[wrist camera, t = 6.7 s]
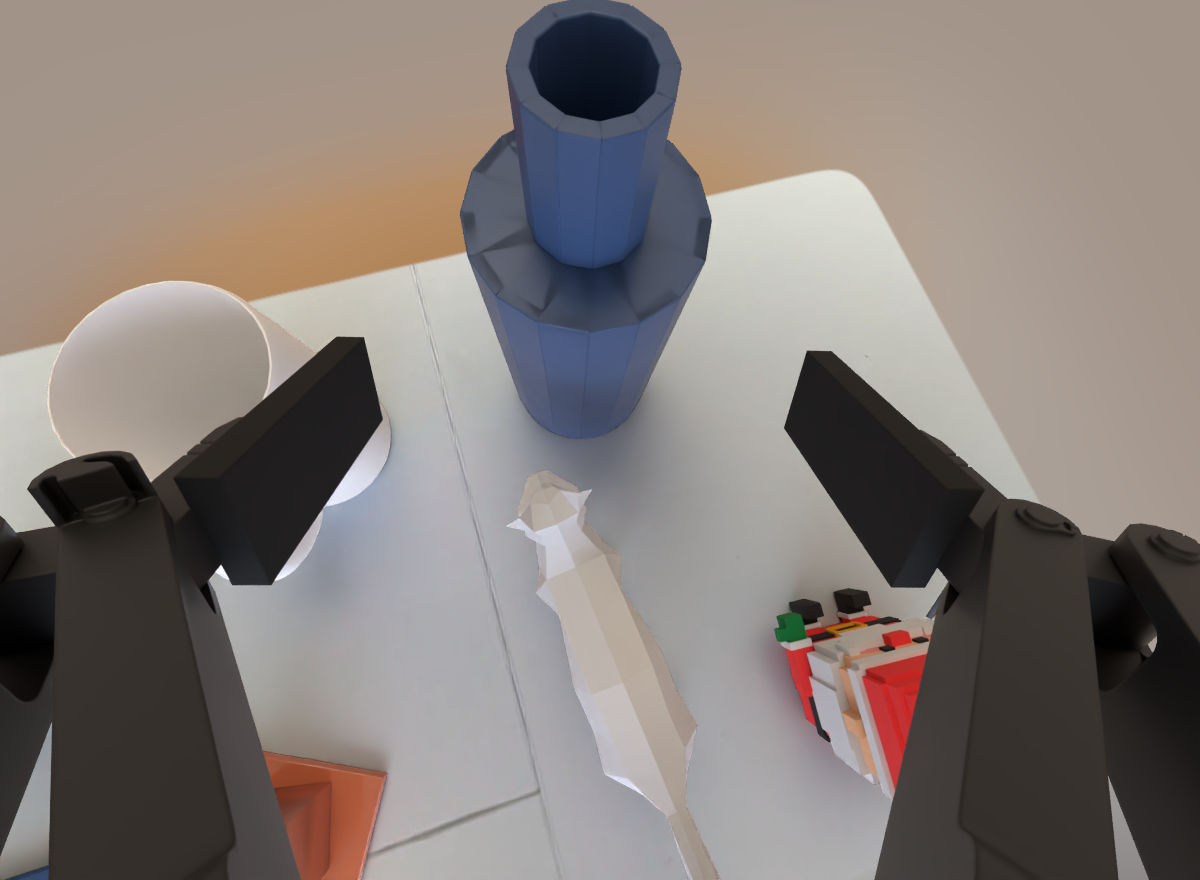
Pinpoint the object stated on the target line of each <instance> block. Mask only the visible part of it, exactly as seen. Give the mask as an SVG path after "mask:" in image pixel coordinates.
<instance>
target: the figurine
mask: <svg viewBox="0 0 1200 880" xmlns="http://www.w3.org/2000/svg"><path fill="white" fill-rule="evenodd" d="M834 594H835V597H836V601H837V604H838V608H839V611H840V612H837V614H838V617H841V618H842V621H843V622H842V623H838V624H834V625H830V626H826V627H822V628H819V627H821V626H822V624H821V622H820V621H817V618H818V617H822V616H824V614H823V611H822V607H821V604H820V603H819V602H815V601H811V600H807V599H801V600H797V601H793V602H789V603H790V607H791V611H792V612H791V613H787V614H783V615H779V616H777V620H778V624H779V628H775V629H774V630H775V634H776V638H777V641H779V642H780V643H781V646H783V647H785V650H786V654H787V657H788V661H789V665H790V669H791V672H792V676H793V680H794V684H795V687H796V689H798V690H799V693H800V697H801V701H802V704H803V708H804V712H805V716H806V719H807V720H808V721H810V722H811V723H812V724H813V725H815V726H816V728H817V731H818V734H819V735H820V736H821V737H823V738H824V739H825V740H827V741H828V742H831V743H832V747H833V751H834V754H835V755H836V756H837V757H839V758H840V759H841V760H842V761H844V762H845V763H846V764H847V765H848V766H850V767H851V768H852V769H853V770H855V771H856V772H857V773H858V774H859V775H861V776H864V777H865V778H867V779H868V780H869V781H870V782H871V783H873V784H874V785H876V784H881V788H882V791H883V794H884V795H886V796H887V797H888V798H889V799H891V800H892V801H893V798H894V793H895V789H896V785H897V780H898V776H899V772H900V767H901V763H902V759H903V755H904V750H905V746H906V742H907V737H908V733H909V729H910V724H911V720H912V716H913V711H914V707H915V703H916V698H917V694H918V690H919V685H920V681H921V677H922V672H923V668H924V664H925V660H926V655H927V651H928V647H929V642H930V638H931V634H932V629H933V625H934V621H931V620H927V621H924V620H920V619H911V620H907V621H903V622H902V621H901V620H899V619H898V618H893V617H885V618H878V617H874V616H867V617H866V615H868V612H867V611H866V610H864V609H863V606H868V605H871V601H870V598H869V595H868V592H867V591H861V590H855V589H850V588H848V589H843V590H839V591H835V592H834Z"/></svg>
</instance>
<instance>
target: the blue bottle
mask: <svg viewBox="0 0 1200 880" xmlns="http://www.w3.org/2000/svg"><path fill="white" fill-rule="evenodd" d="M681 69H682V68H681V63H680V60H679V58H678V56H677V54H676V51H675V49H674V47H673V45H672V43H671V41H670V39H669V36H668V34H667V32H666V31H665V30H664V28H663V27H661V26H660V25H659V24H657V23H656V22H654V21H653V20H652V19H650V18H649V17H648V16H646V15H645V14H643V13H642V12H641V11H639V10H638V9H637V8H635V7H634V6H630V5H629V4H625V3H621V2H616V1H611V0H567V1H562V2H558V3H553V4H549V5H547V6H544V7H543V8H542V9H541V10H540V11H539V12H537V13H536V14H535V15H534V16H532V17H531V18H530V19H529V20H528V21H527V22H525V23H524V24H523V25H522V26H521V27H519V28H518V29H517V32H515V35H514V39H513V42H512V46H511V50H510V53H509V57H508V61H507V64H506V74H507V81H508V88H509V95H510V102H511V109H512V115H513V123H514V130H512V131H510V132H508V133H507V134H504V135H503V136H501V138H499V139H498V140H497V141H496V143H495V144H494V145H493V146H492V147H491V148H490V150H489V151H488V152H487V153H486V154H485V156H484V157H483V158H482V159H481V160H480V161H479V163H478V164H477V165H476V166H475V167H474V169H473V171H472V172H471V175H470V179H469V182H468V186H467V190H466V193H465V197H464V200H463V204H462V208H461V211H460V217H461V223H462V228H463V234H464V239H465V244H466V250H467V256H468V259H469V261H470V264H471V267H472V270H473V272H474V275H475V278H476V280H477V283H478V286H479V289H480V291H481V294H482V297H483V299H484V302H485V305H486V307H487V310H488V313H489V316H490V318H491V321H492V324H493V326H494V329H495V332H496V335H497V337H498V340H499V343H500V345H501V348H502V351H503V354H504V356H505V359H506V362H507V364H508V367H509V370H510V372H511V375H512V378H513V381H514V383H515V386H516V389H517V391H518V394H519V397H520V399H521V401H522V402H523V404H524V406H525V407H526V409H527V411H528V412H529V414H530V415H531V416H532V417H533V418H534V419H535V420H536V421H537V422H538V423H539V424H540V425H541V426H543V427H544V428H545V429H547V430H549V431H551V432H553V433H555V434H558V435H560V436H564V437H568V438H576V439H585V438H593V437H597V436H600V435H603V434H605V433H608V432H610V431H612V430H613V429H615V428H616V427H618V426H619V425H620V424H622V423H623V422H624V421H625V420H626V419H627V418H628V416H629V415H630V414H631V412H632V411H633V409H634V407H635V406H636V404H637V403H638V401H639V400H640V398H641V396H642V393H643V391H644V389H645V387H646V385H647V383H648V381H649V379H650V377H651V375H652V372H653V370H654V368H655V366H656V364H657V362H658V360H659V358H660V356H661V354H662V351H663V349H664V347H665V345H666V343H667V341H668V339H669V337H670V335H671V333H672V330H673V328H674V326H675V324H676V322H677V320H678V318H679V316H680V314H681V312H682V309H683V307H684V305H685V303H686V301H687V299H688V297H689V295H690V293H691V291H692V288H693V286H694V284H695V282H696V280H697V278H698V276H699V274H700V272H701V270H702V267H703V265H704V263H705V261H706V255H707V248H708V242H709V235H710V228H711V222H712V220H711V214H710V211H709V207H708V204H707V200H706V197H705V193H704V190H703V187H702V183H701V180H700V178H699V175H698V174H697V173H696V171H695V170H694V169H693V168H692V166H691V165H690V164H689V163H688V162H687V160H686V159H685V158H684V157H683V156H682V154H681V153H680V152H679V150H678V149H677V148H676V147H675V146H674V144H673V143H671V142H670V141H669V140H667V136H668V132H669V128H670V123H671V119H672V115H673V110H674V106H675V102H676V97H677V91H678V86H679V80H680V74H681Z"/></svg>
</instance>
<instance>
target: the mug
mask: <svg viewBox="0 0 1200 880" xmlns="http://www.w3.org/2000/svg"><path fill="white" fill-rule="evenodd" d="M316 354H317V353H316V352H315V351H313V350H312V349H311V348H309V347H308V346H306V345H305V344H304V343H302V342H301V341H300V340H298V339H297V338H295V337H294V336H293V335H291V334H290V333H289V332H287V331H286V330H285V329H283V328H282V327H280V326H279V325H278V324H276V323H275V322H274V321H272V320H271V319H269V318H268V317H267V316H265V315H264V314H263V313H261V312H260V311H258V310H257V309H256V308H254V307H253V306H252V305H250V304H249V303H248V302H246V301H245V300H243V299H241V298H240V297H238V296H237V295H235V294H233V293H231V292H229V291H226V290H224V289H221V288H219V287H216V286H212V285H208V284H202V283H197V282H190V281H165V282H158V283H152V284H146V285H143V286H140V287H137V288H134V289H131V290H128V291H125V292H123V293H121V294H119V295H117V296H115V297H113V298H111V299H109V300H107V301H106V302H104V303H103V304H101V305H100V306H99V307H97V308H96V309H95V310H93V311H92V312H90V313H89V314H88V315H87V316H86V317H85V318H84V319H83V320H82V321H81V322H80V323H79V324H78V325H77V326H76V327H75V328H74V329H73V330H72V331H71V333H70V334H69V336H68V337H67V339H66V340H65V342H64V343H63V345H62V346H61V348H60V349H59V352H58V354H57V356H56V358H55V361H54V363H53V365H52V368H51V372H50V377H49V381H48V386H47V409H48V413H49V417H50V421H51V425H52V428H53V430H54V431H55V433H56V435H57V437H58V439H59V441H60V443H61V444H62V446H63V447H64V448H65V449H66V450H67V451H68V452H69V453H70V454H71V456H72V457H73V458H76V457H80V456H83V455H87V454H92V453H97V452H102V451H124V452H129V453H132V454H133V455H134V456H135V458H136V459H137V460H138V462H139V464H140V465H141V467H142V469H143V470H144V472H145V474H146V476H147V477H148V479H149V481H150V482H152V481H153V480H154V479H155V478H156V477H158V476H159V475H160V474H161V473H162V472H164V471H165V470H166V469H167V468H168V467H170V466H171V465H172V464H173V463H174V462H176V461H177V460H178V459H179V458H181V457H182V456H183V455H187V452H188V451H189V450H190V449H191V448H193V447H194V446H195V445H196V444H200V441H201V440H202V439H204V438H205V437H206V436H207V435H208V434H210V433H211V432H212V431H213V430H214V429H216V428H217V427H219V426H221V425H223V424H226V423H228V422H230V421H232V420H234V419H236V418H238V417H244V416H245V415H246V414H247V413H248V412H250V411H251V410H252V409H253V408H254V407H255V406H257V405H258V404H259V403H260V402H261V401H262V400H264V399H265V398H266V397H267V396H268V395H269V394H271V393H272V392H273V391H274V390H275V389H276V388H278V387H279V386H280V385H281V384H282V383H283V382H285V381H286V380H287V379H288V378H289V377H290V376H291V375H293V374H294V373H295V372H296V371H297V370H298V369H300V368H301V367H302V366H303V365H304V364H305V363H307V362H308V361H309V360H310V359H311V358H312V357H314V356H315V355H316ZM379 404H380V408H381V413H382V417H383V420H382V422H381V423H380V425H379V426H378V428H377V429H376V431H375V432H374V434H373V435H372V437H371V438H370V440H369V441H368V443H367V444H366V446H365V447H364V449H363V450H362V451H361V453H360V454H359V456H358V457H357V459H356V460H355V462H354V463H353V465H352V466H351V468H350V469H349V471H348V472H347V474H346V475H345V477H344V478H343V480H342V481H341V483H340V484H339V486H338V487H337V488H336V490H335V491H334V493H333V494H332V496H331V497H330V499H329V500H328V502H327V503H326V505H325V506H324V507H327V506H332V505H336V504H340V503H342V502H345V501H347V500H349V499H351V498H353V497H355V496H356V495H358V494H359V493H361V492H362V491H363V490H365V489H366V488H367V487H368V486H369V485H370V484H371V483H372V482H373V481H374V480H375V478H376V477H377V476H378V474H379V473H380V472H381V470H382V468H383V466H384V464H385V462H386V460H387V457H388V454H389V450H390V445H391V429H390V423H389V419H388V417H387V414H386V411H385V409H384V408H383V406H382V405H381V403H380V402H379ZM323 510H324V508H323V509H322V511H321V512H320V514H319V515H318V517H317V518H316V520H315V521H314V523H313V524H312V526H311V527H310V528H309V530H308V531H307V533H306V534H305V536H304V537H303V539H302V540H301V542H300V543H299V545H298V546H297V548H296V549H295V551H294V552H293V554H292V555H291V557H290V558H289V560H288V561H287V563H286V564H285V565H284V567H283V568H282V570H281V571H280V573H279V574H278V576H277V577H276V579H275V580H274V581H277V580H279V579H282V578H284V577H286V576H288V575H289V574H290V573H292V572H293V571H294V570H295V569H296V568H297V567H298V566H299V565H300V564H301V563H302V561H303V560H304V559H305V558H306V556H307V555H308V554H309V552H310V551H311V549H312V547H313V545H314V543H315V541H316V538H317V536H318V533H319V530H320V526H321V522H322V517H323ZM216 573H217V574H219V575H220V576H222V577H223V578H225V579H227V580H229V578H228V576H227V575H226V573H225V571H224V569H223V567H222V566H221V565H220V567H219V568H218V569H217V570H216Z"/></svg>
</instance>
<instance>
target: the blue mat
mask: <svg viewBox="0 0 1200 880" xmlns="http://www.w3.org/2000/svg"><path fill="white" fill-rule="evenodd" d="M48 874H49V865H48V866H45V867H42V868H39V869H36V870H33V871H30V872H27V873H24V874H21V875H18V876H15V877H12V878H9V879H6V880H48Z"/></svg>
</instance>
